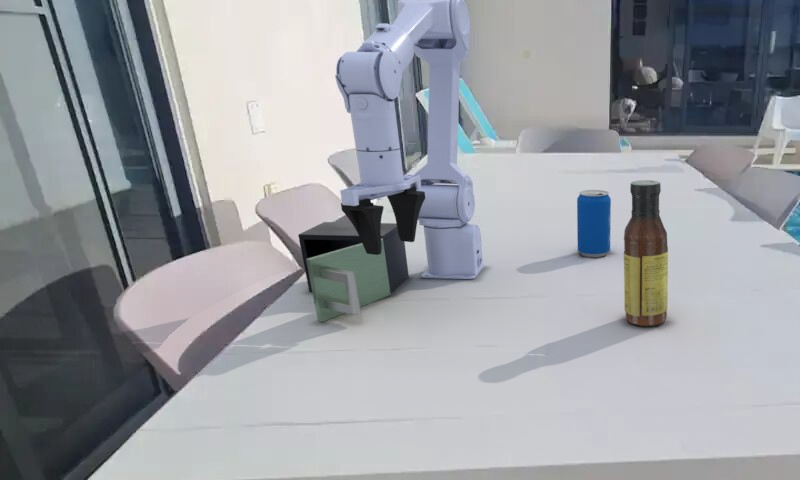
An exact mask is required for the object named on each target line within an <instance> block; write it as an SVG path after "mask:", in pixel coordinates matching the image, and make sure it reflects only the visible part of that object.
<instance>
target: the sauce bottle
mask: <svg viewBox="0 0 800 480" xmlns="http://www.w3.org/2000/svg"><path fill="white" fill-rule="evenodd" d="M629 188H630V190H629V191H630V194H631V217H630V219H629V221H628V223H627V224H626V226H625V228H624V233H623V245H624V247H623V248H624V249H623V281H624V282H623V283H624V285H623V286H624V288H623V289H624V290H623V291H624V293H623V294H624V297H623V298H624V312H625V318H626V320H627V322H628V323H629V324H631V325H635V326H639V327H655V326H659V325H662V324H663V323H665V322H666V321H667V315H668V299H669V297H668V296H669V294H668V293H669V292H668V290H669V289H668V287H669V283H668V281H669V280H668V279H669V275H668V274H669V245H668V233H667V230H666V228H665V226H664V224H663V223H664V222H663V221H662V218H661V216H660V213H661V211H660V195H661V191H662V190H661V188H662V187H661V182H660V181H657V180H652V179H642V180H641V179H640V180H635V181H631V182H630V187H629Z"/></svg>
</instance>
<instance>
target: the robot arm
mask: <svg viewBox="0 0 800 480" xmlns="http://www.w3.org/2000/svg"><path fill="white" fill-rule="evenodd" d="M374 29H375V31H374V32H373V33H372V34H371V35H370V36H369V37H368V38H367V39H366V40H364V41H363V42H362V45H361V46H360V47H359V48H357V50H356V51H346V52H344V53H343V54H342V56H340V57H339V58H338V59H337V62H336V67H335V72H336V74H335V75H334V76H335V82H336V85H337V88H338V90H339V93H340V94H341V96H342V98H343V103H344V108H345V109H346V113H349V114H350V118H351V125H352V133H353V139H354V146H355V152H356V160H357V165H358V173H359V179H360V182H358V183H356V184H353V185H351V186H349V187H347V188H344V189H340V190H339V192H340V198H341V203H340V206H341V207H340V208H341V211H342V212H343V213H344V215H345V216H346V217H347V218H348V220H349V221H350V223H352V224H353V226H354V227H355V229H356V231H357V233H358V235H359V237H360V239H361V241H362V244H363V246H364V248H365V251H366V253H367V254H373V255H379V254H381V250H382V244H381V223H382V216H383V212H384V209H385V206H384V205H376V204H374V202H372V201H373V200H377V199H381V198H385V197H387V200H388V202H389V203H390V206H391V209H392V211H393V214H394V218H395V223H396V224H397V229H398V234H399V237H400V240H401V241H404V242H406V243H414V242H415V240H416V233H417V225H418V223H419V226H423V233H424V243H425V251H426V262H427V269H426V270H425V271H424V272H423V273H422V274H421V275H420V278H422V279H446V280H474V279H476V278H477V276H478V275H479V274H480V273H481V271H482V270H483V269H484V267H485V264H484V262H483V261H484V260H483V247H482V245H483V244H482V235H481V234H482V233H481V229H480V226H479V225H478V224H473V223H469V222H470V221H471V220H472V219H473V217H474V214H475V207H476V202H475V201H476V200H475V195H474V184H473V180H472V178H471V177H470V176H469V174H467V173H466V172H465V171H464V170H463V169H461V168H460V167H459V166H458V147H459V146H458V142H459V141H458V140H459V111H460V109H459V108H460V107H459V106H460V76H461V63H462V62H463V61H464V60H466V59H467V58H468V57H469V51H470V50H469V49H470V40H471V39H470V38H471V18H470V15H469V10H468V6H467V3H466V2H465V0H398V1H397V17H396V18H395V20H394V21H393V23H392V24H389V23H377V24H376V25H375V27H374ZM414 54H415V55H414ZM414 56H416V57H418V58H419V59H421V60H423V61H425V62H426V63H427V64H428V67H429V68H428V71H429V74H428V109H427V111H428V112H427V114H428V115H427V152H426V153H427V154H426V155H427V158H426V159H427V160H426V164H424V165H423V166H422V167H421V168H420V169H418V170H417V171H416V172H415V173H414V174H405V175H404V170H403V163H402V162H403V161H402V154H401V153H402V152H401V145H400V138H399V130H398V128H399V127H398V121H397V112H396V106H395V105H396V104H395V103H396V102H395V99H396V98H398V97H399V95H400V93H401V92H400V91H401V82H402V80H403V76H404V75H403V72H404V71H405V70H406V69H407V67H408V66H409V65H410V63H411V62H412V61H413V60H414V59H413V58H414Z"/></svg>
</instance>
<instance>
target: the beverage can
mask: <svg viewBox="0 0 800 480" xmlns="http://www.w3.org/2000/svg"><path fill="white" fill-rule="evenodd" d="M609 195H610V194H609V191H606V190H603V189H588V190H587V189H584V190H581V191H579V194H578V196H577V198H576V204H577V206H576V208H577V209H576V213H577V214H576V219H577V220H576V224H577V228H576V229H577V233H576V234H577V251H578V252H579V254H581V255H582V256H583V257H586V258H601V257H604V256H606V255H607V254H608V253H610V252H611V221H612V219H611V217H612V216H611V215H612V214H611V213H612V210H611V209H612V198H611V197H610V196H609Z"/></svg>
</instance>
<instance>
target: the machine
mask: <svg viewBox="0 0 800 480" xmlns="http://www.w3.org/2000/svg"><path fill="white" fill-rule="evenodd" d="M381 238H382V239H383V244H384V251H385V258H386V265H387V272H388V280H389V287H390V294H391V295H392V293H393V292H395V291H396V290H397V289H398V288H399V287H400V286H402V285H403V284H404V283H405V282H406V281H407V280H408V279H409V278H410V275H409V267H408V259H407V251H406V243H405V241H401V240H400V237H399V234H398V229H397V224H396V222H395V223H394V222H393V223H391V222H381ZM298 241H299V246H300V251H301V255H302V262H303V267H304V272H305V276H306V282H307V287H308V292H309V293H313V292H312V287H311V282H310V277H309V272H308V266H307V261H306V259H308V258H311V257H315V256H318V255H322V254H325V253H329V252H332V251H336V250H339V249H343V248H346V247H350V246H353V245H357V244H360V243H362V241H361V239H360V237H359V235H358V233H357V231H356V229H355V227H354V226H353V224H352V222H347V221H345V222H342V221H341V222H340V221H338V222H337V221H336V222H335V221H323V222H322V223H319V224H317V225H315V226H312V227H310V228H308V229H306V230H305V231H302V232H301V233H298Z"/></svg>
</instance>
